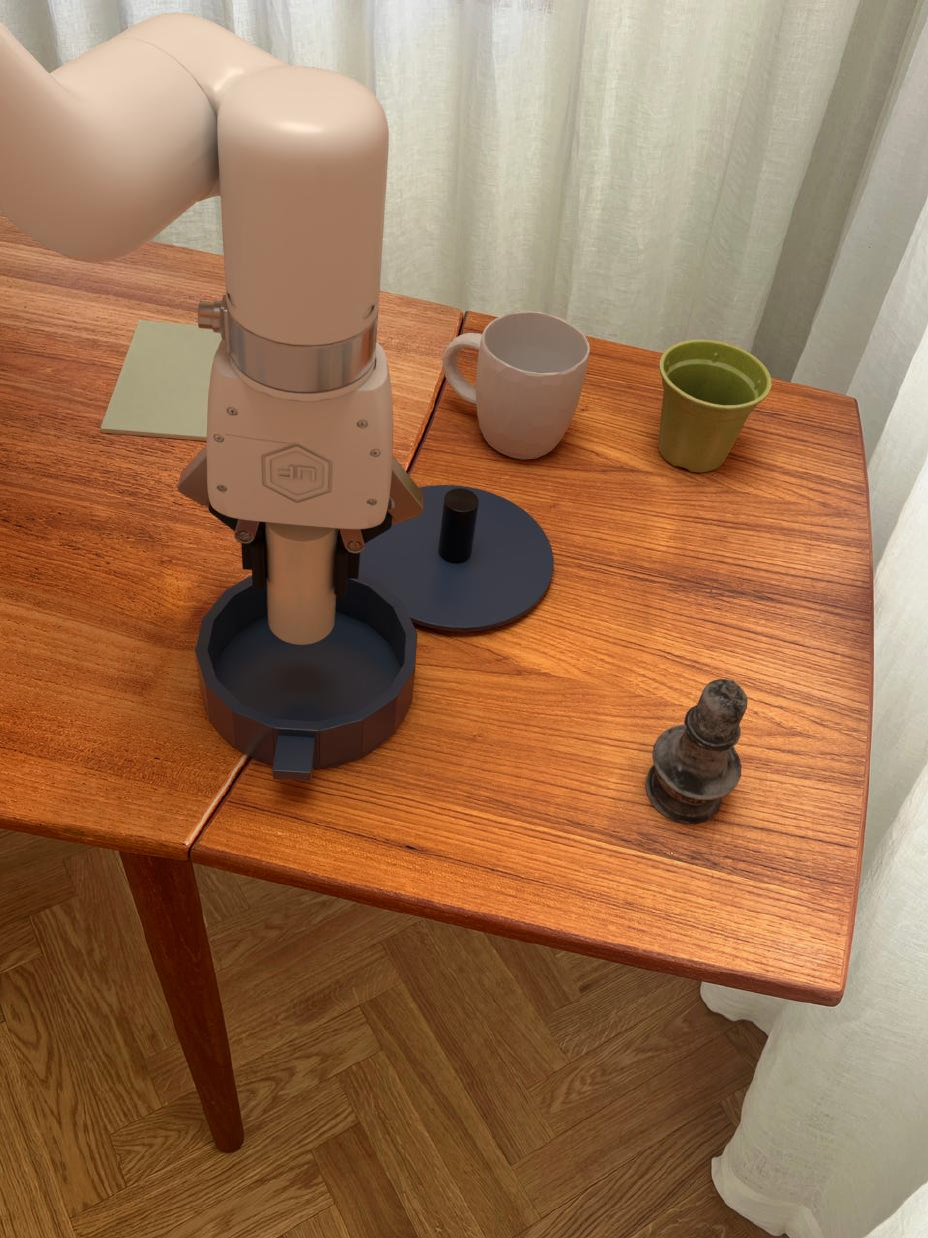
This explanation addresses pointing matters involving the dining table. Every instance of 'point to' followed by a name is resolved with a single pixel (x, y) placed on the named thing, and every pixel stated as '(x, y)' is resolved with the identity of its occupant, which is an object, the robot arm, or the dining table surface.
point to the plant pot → (707, 401)
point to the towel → (164, 382)
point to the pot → (307, 679)
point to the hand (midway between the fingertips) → (301, 575)
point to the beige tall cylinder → (300, 581)
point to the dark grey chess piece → (699, 756)
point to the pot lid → (462, 560)
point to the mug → (523, 380)
